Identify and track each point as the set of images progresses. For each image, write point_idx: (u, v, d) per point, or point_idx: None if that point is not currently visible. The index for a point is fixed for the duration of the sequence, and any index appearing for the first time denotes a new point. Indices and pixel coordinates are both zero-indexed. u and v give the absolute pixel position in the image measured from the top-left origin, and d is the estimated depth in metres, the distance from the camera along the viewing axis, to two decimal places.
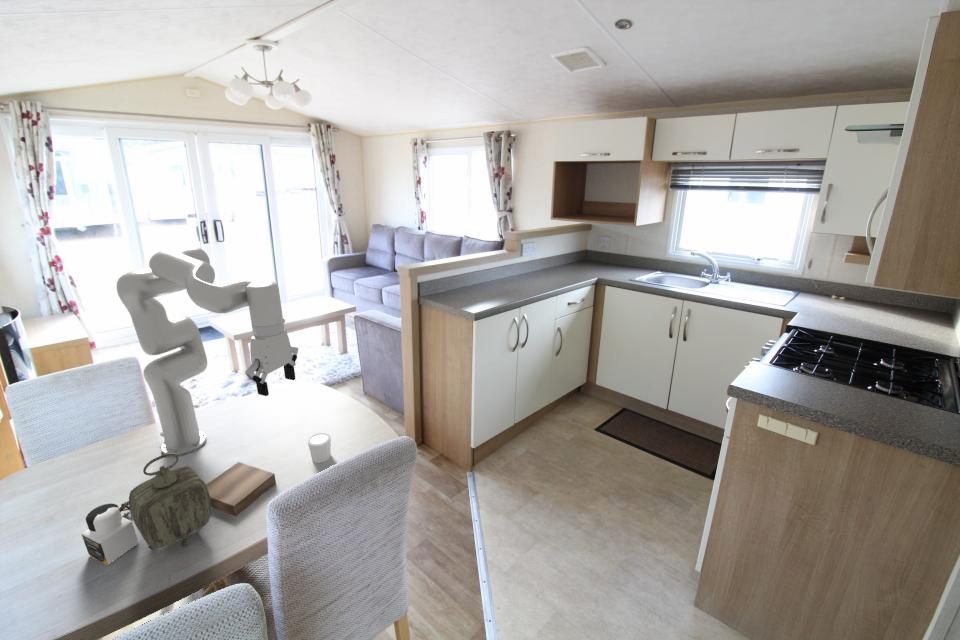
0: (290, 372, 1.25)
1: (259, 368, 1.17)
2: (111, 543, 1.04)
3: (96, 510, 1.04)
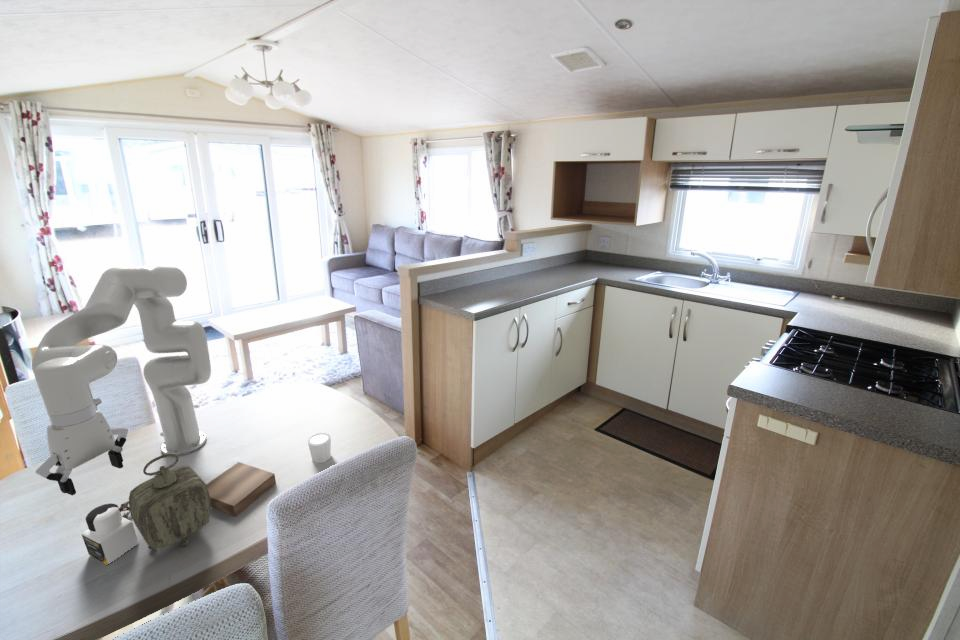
0: (115, 459, 1.04)
1: None
2: (111, 543, 1.04)
3: (96, 510, 1.04)
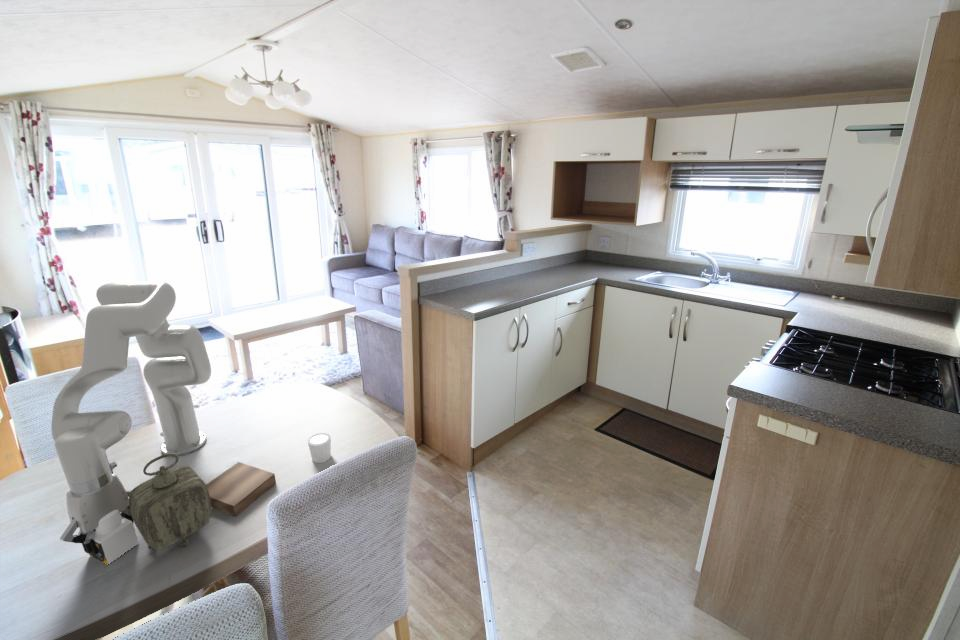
0: None
1: None
2: (111, 543, 1.04)
3: None
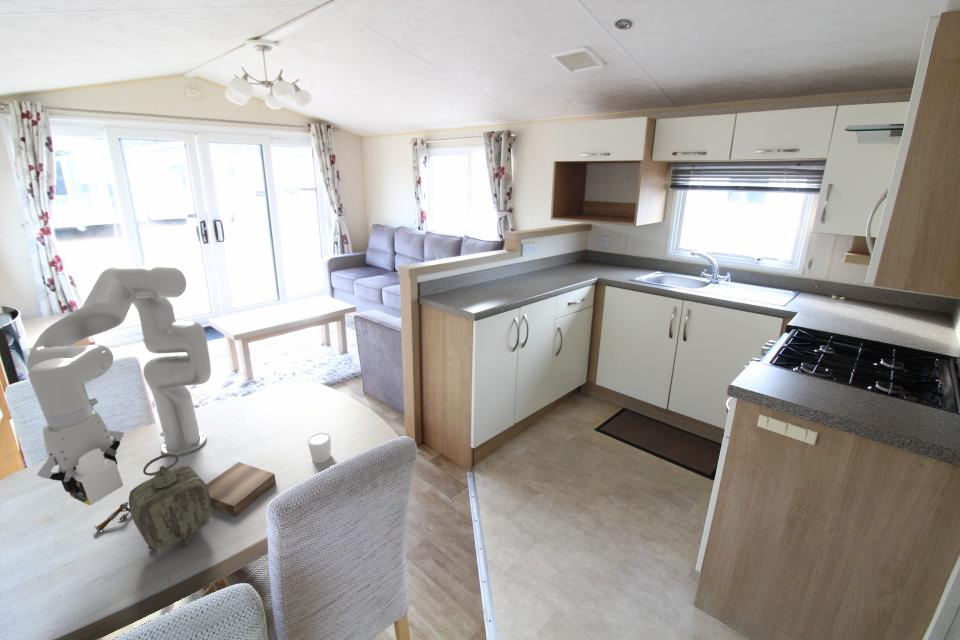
0: None
1: None
2: (93, 482, 0.99)
3: None
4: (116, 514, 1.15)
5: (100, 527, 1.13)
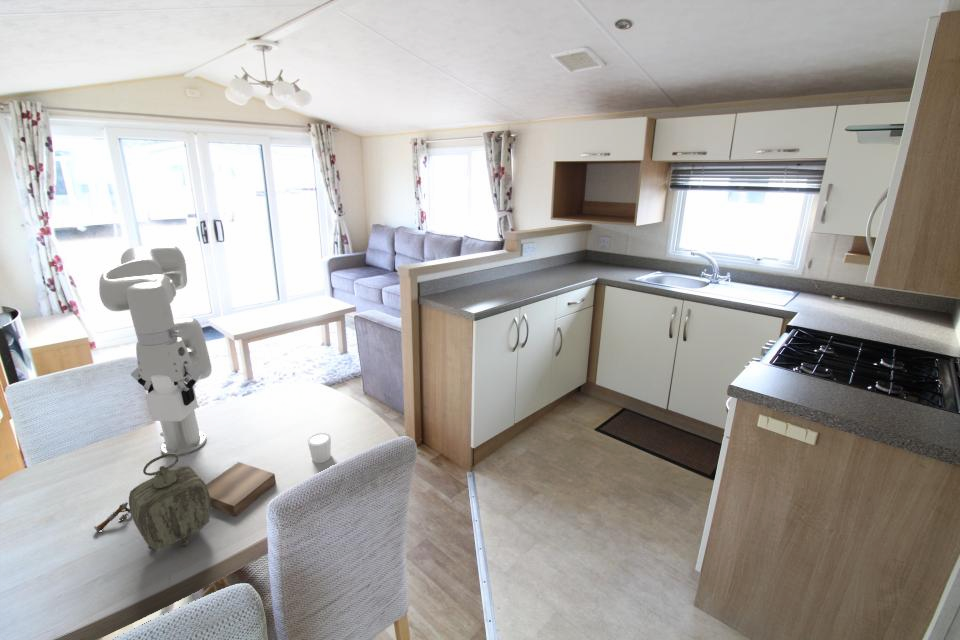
0: None
1: None
2: (154, 403, 1.05)
3: None
4: (115, 514, 1.15)
5: (99, 527, 1.13)
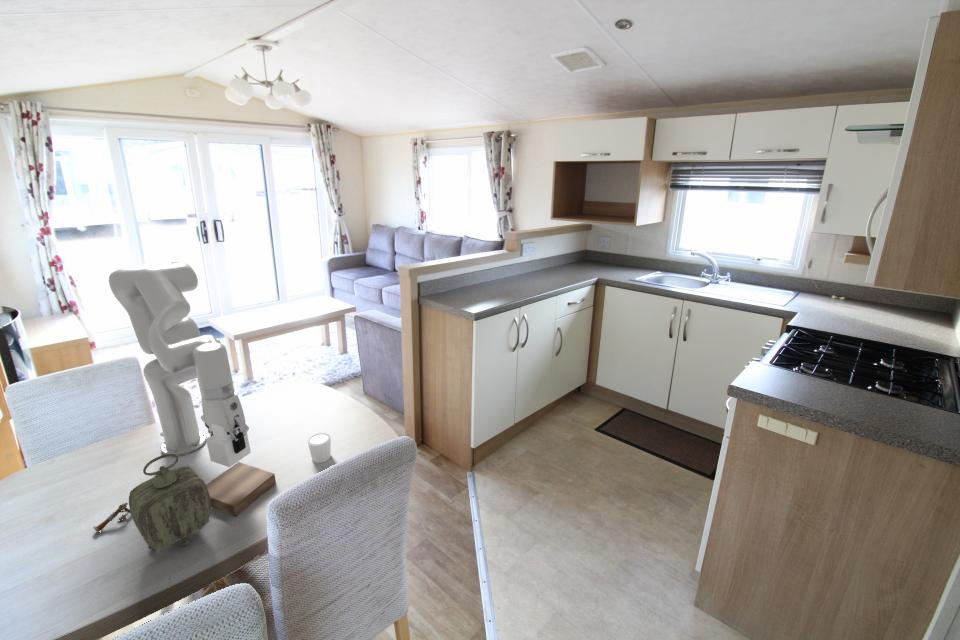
0: None
1: None
2: (212, 447, 1.19)
3: None
4: (115, 515, 1.15)
5: (99, 528, 1.13)
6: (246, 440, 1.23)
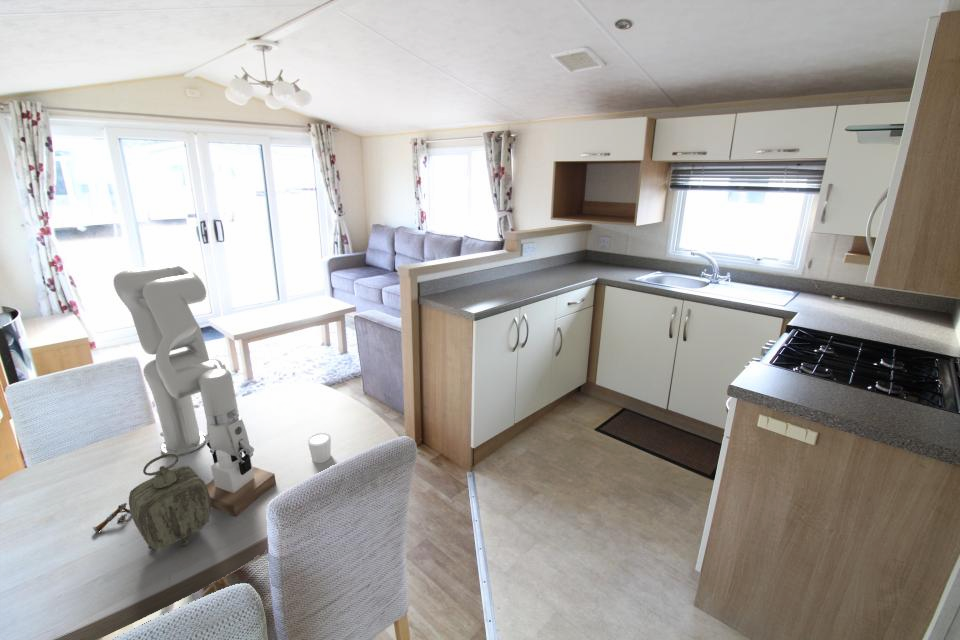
0: None
1: None
2: (216, 474, 1.22)
3: None
4: (114, 515, 1.15)
5: (98, 528, 1.13)
6: None
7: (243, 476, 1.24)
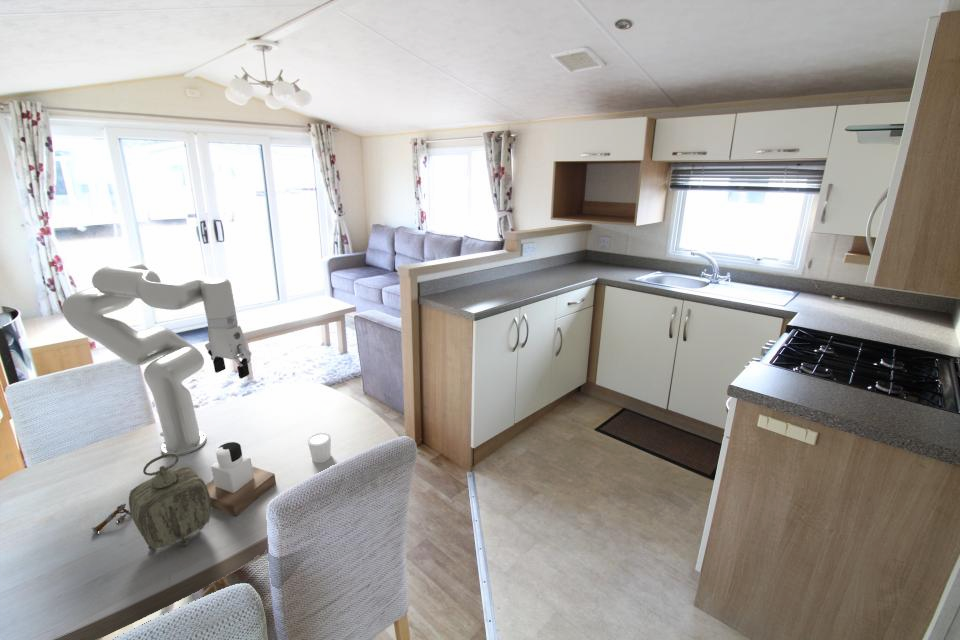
0: None
1: None
2: (216, 474, 1.22)
3: (230, 444, 1.23)
4: (113, 516, 1.15)
5: (97, 529, 1.12)
6: (250, 466, 1.26)
7: (243, 476, 1.24)
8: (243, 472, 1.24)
